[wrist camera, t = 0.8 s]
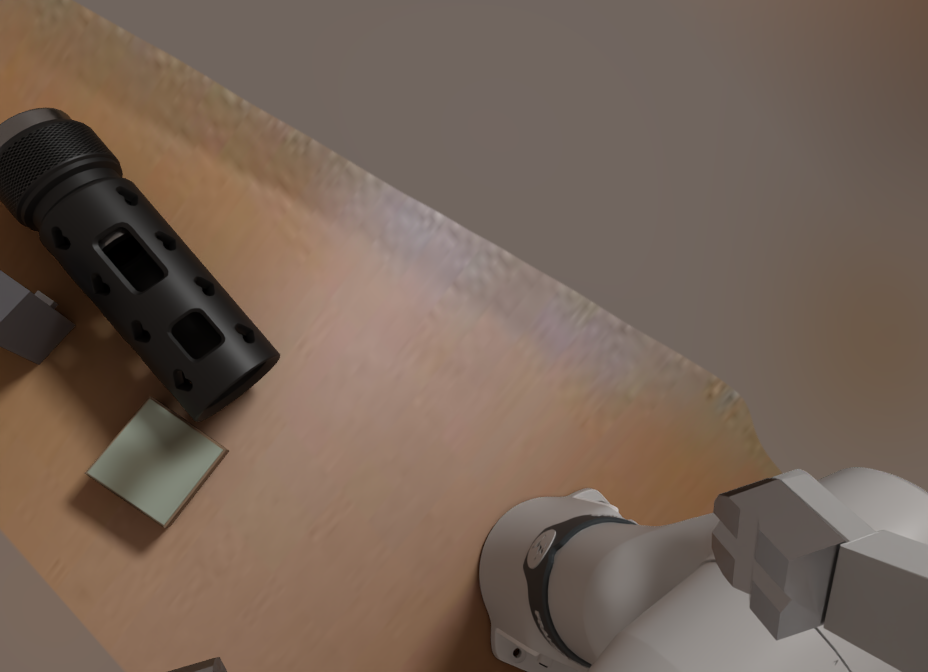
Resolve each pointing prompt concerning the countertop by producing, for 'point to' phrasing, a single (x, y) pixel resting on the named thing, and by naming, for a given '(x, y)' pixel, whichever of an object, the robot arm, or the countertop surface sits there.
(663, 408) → the countertop surface
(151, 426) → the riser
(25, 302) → the charger
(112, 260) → the muzzle brake
